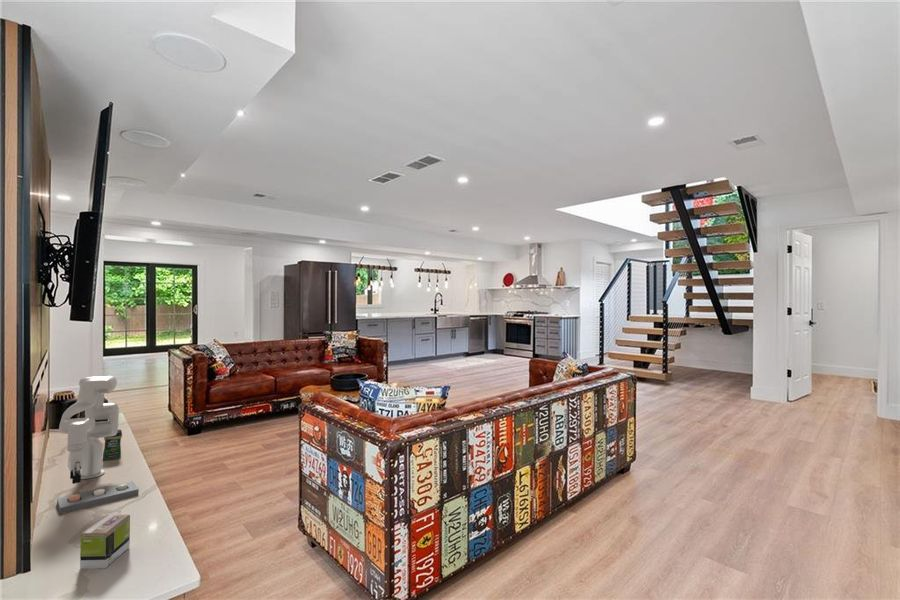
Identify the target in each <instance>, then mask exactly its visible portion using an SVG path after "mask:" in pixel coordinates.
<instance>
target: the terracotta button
mask: <svg viewBox="0 0 900 600" xmlns="http://www.w3.org/2000/svg"><path fill="white" fill-rule="evenodd" d="M71 495H72V496H70V495H69V496H70V497H69V502H73V501H78V500H80V495H74V494H71Z"/></svg>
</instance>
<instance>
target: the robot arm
mask: <svg viewBox="0 0 900 600" xmlns="http://www.w3.org/2000/svg"><path fill="white" fill-rule="evenodd" d="M117 380H118V379H117V378H116V377H115V376H114V375H113V376H112V375H107V376H86V377H82V378H80V379H79V382H78V385H79V391H78V394H77V399H76V402H75V403H73V404H71V405H70V406H69V407H68V408H66V409H65V411H64V412H63V414H62V416H61V419H60V422H59V426H58V429H59V432H60V433H61V434H62V435H67V444H66V445H67V446H66V447H67V448H66V451H67V452H68V460H67V461H68V462H67V468H68V470H69V471H70V473H69V474H70V475H69V478H70V480H71V484H72V485H73V484H74V485H75V484H80V483H82V482H81V481H82V480H88V479H93V478H97V477H100V476H102V475H104V474H105V469H102V462H103V443H102V441H101V439H102V438H103V439H104V437H112V436H115V435H116V434H117V431H118V430H119V413H120V410H119V409H120V408H119V405H118V404H117V403H116V402H104V400H105V395H104V394H110V393H112V392H113V391H114V390H115V388H116V387H117V385H118V384H117V383H118V382H117ZM82 412H84V417H78V418H72V417H73V416H74V415H75V416H76V414H78V413H82ZM98 420H99V421H98ZM100 420H103V421H100ZM104 420H105V421H104ZM106 420H107V421H106Z"/></svg>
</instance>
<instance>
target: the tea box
mask: <svg viewBox="0 0 900 600" xmlns="http://www.w3.org/2000/svg"><path fill="white" fill-rule="evenodd" d="M130 533H131V514H107V515H105V516H104V517H102V518H100V519H99V520H98V521H96V522H95V523H94V524H92V525H91V526H89V527H88V528H87V529H85V530H84V531H83V532H81V533H80V553H79V556H80V558H79V559H80V561H79V565H80V566H79V568H80V569H81V570H88V569H89V570H91V569H97V570H99V569H98V568H101V569H106V568H108V567H109V566H110V565H111V564H112V563H114V561H116V559H118V558H119V557H120V556H121V555H122V554H124V553H125V552H126V551H127V550H129V548H130V544H131V542H130V541H131V539H130V538H131V537H130V536H131V534H130ZM109 564H110V565H109Z"/></svg>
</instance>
